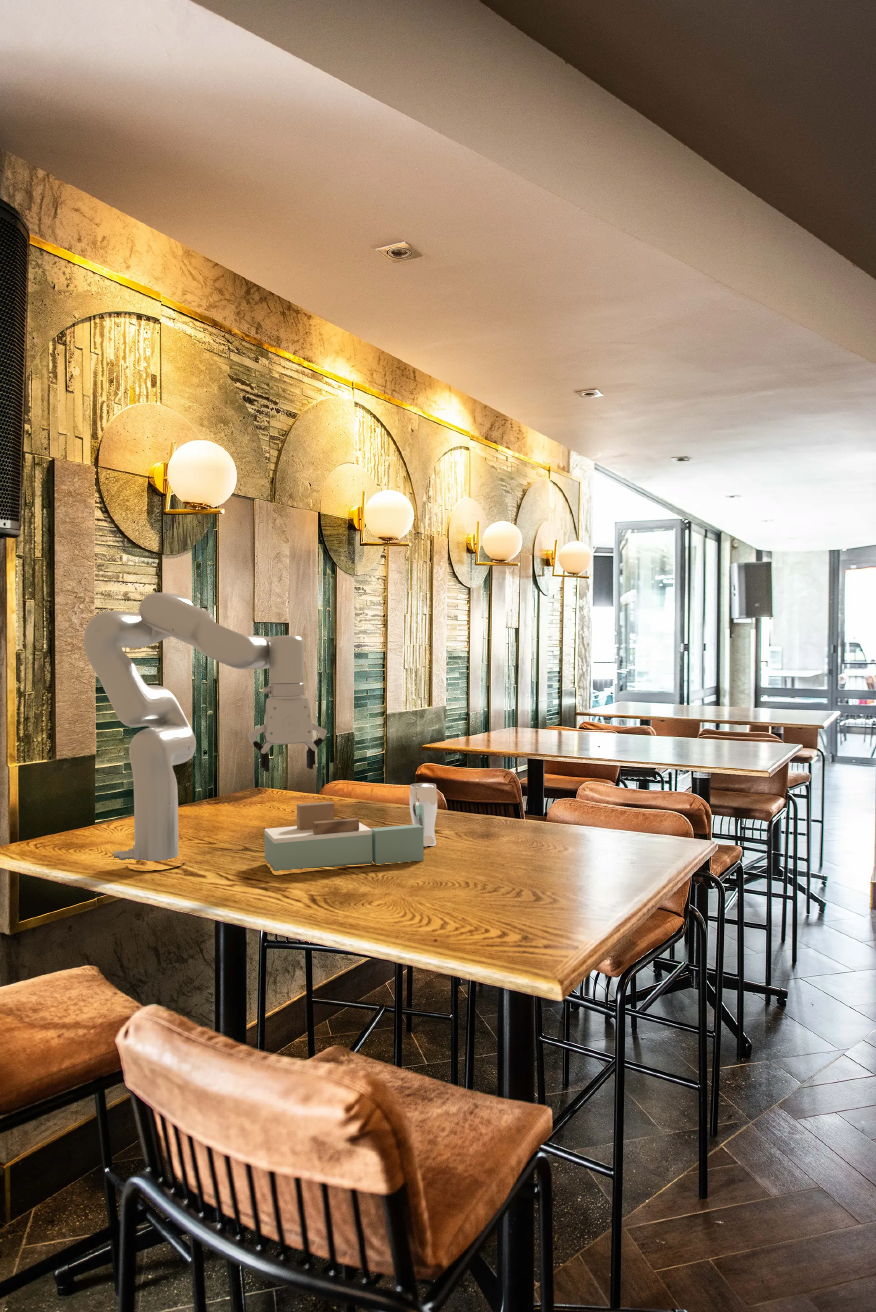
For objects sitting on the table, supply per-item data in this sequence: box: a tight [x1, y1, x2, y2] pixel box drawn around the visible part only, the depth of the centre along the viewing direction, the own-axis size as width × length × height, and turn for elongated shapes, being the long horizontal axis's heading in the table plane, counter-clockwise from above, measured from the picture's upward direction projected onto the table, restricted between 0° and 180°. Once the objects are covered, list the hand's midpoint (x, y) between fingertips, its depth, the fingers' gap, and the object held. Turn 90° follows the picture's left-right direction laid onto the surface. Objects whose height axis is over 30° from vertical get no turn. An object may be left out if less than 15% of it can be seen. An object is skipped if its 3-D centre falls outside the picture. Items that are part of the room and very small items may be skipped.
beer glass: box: [409, 782, 438, 848], centre depth 210 cm, size 7×7×15 cm
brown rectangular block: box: [313, 817, 360, 834], centre depth 188 cm, size 10×2×2 cm, turn 111°
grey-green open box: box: [264, 823, 425, 871], centre depth 193 cm, size 34×13×8 cm, turn 111°
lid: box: [263, 801, 372, 843], centre depth 191 cm, size 22×12×8 cm, turn 111°
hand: (288, 769), depth 185 cm, fingers open, 9 cm apart
